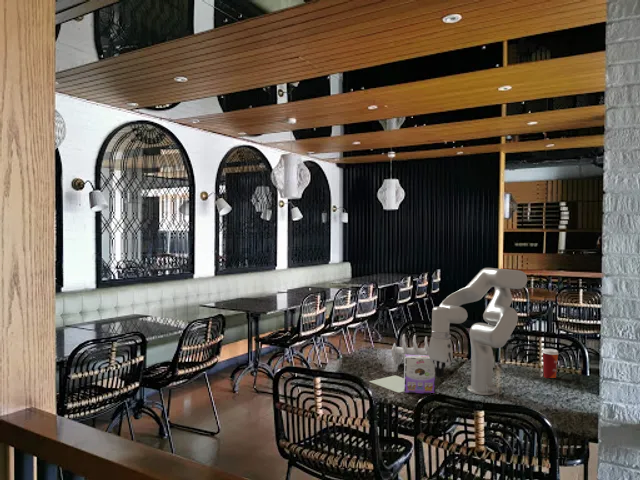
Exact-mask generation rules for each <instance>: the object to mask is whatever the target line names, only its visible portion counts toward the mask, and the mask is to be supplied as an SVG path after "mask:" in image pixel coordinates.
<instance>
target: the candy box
mask: <svg viewBox="0 0 640 480" xmlns="http://www.w3.org/2000/svg"><path fill="white" fill-rule="evenodd" d="M403 362H404V361H403ZM403 366H404V367H403V368H404V370H403V378H404V392H403V393H407V394H408V393H409V394H423V395H424V394H425V395H427V394H428V395H432V394H431V393H435V394H436V367H435V364H434V363H433V362H432V361H430V357H429V356H427V355H407V354H405V362H404V364H403Z"/></svg>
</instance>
